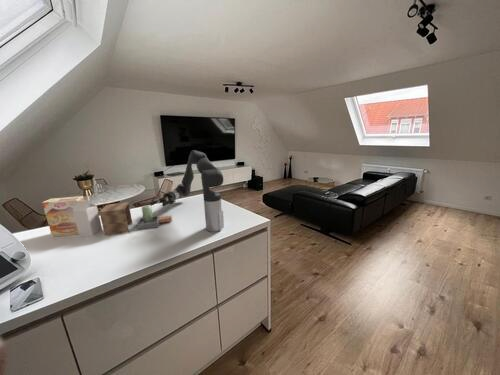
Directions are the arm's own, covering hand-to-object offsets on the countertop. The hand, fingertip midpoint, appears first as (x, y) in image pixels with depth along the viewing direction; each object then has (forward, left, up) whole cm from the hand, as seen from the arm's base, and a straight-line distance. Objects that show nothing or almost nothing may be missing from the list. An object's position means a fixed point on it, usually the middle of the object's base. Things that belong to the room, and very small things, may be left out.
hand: (156, 204), depth 124 cm
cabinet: (+13, +17, -9) cm, 23 cm away
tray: (-3, +7, -9) cm, 12 cm away
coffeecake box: (+36, +25, -10) cm, 45 cm away
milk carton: (+24, +24, -10) cm, 35 cm away
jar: (0, +9, -8) cm, 12 cm away
